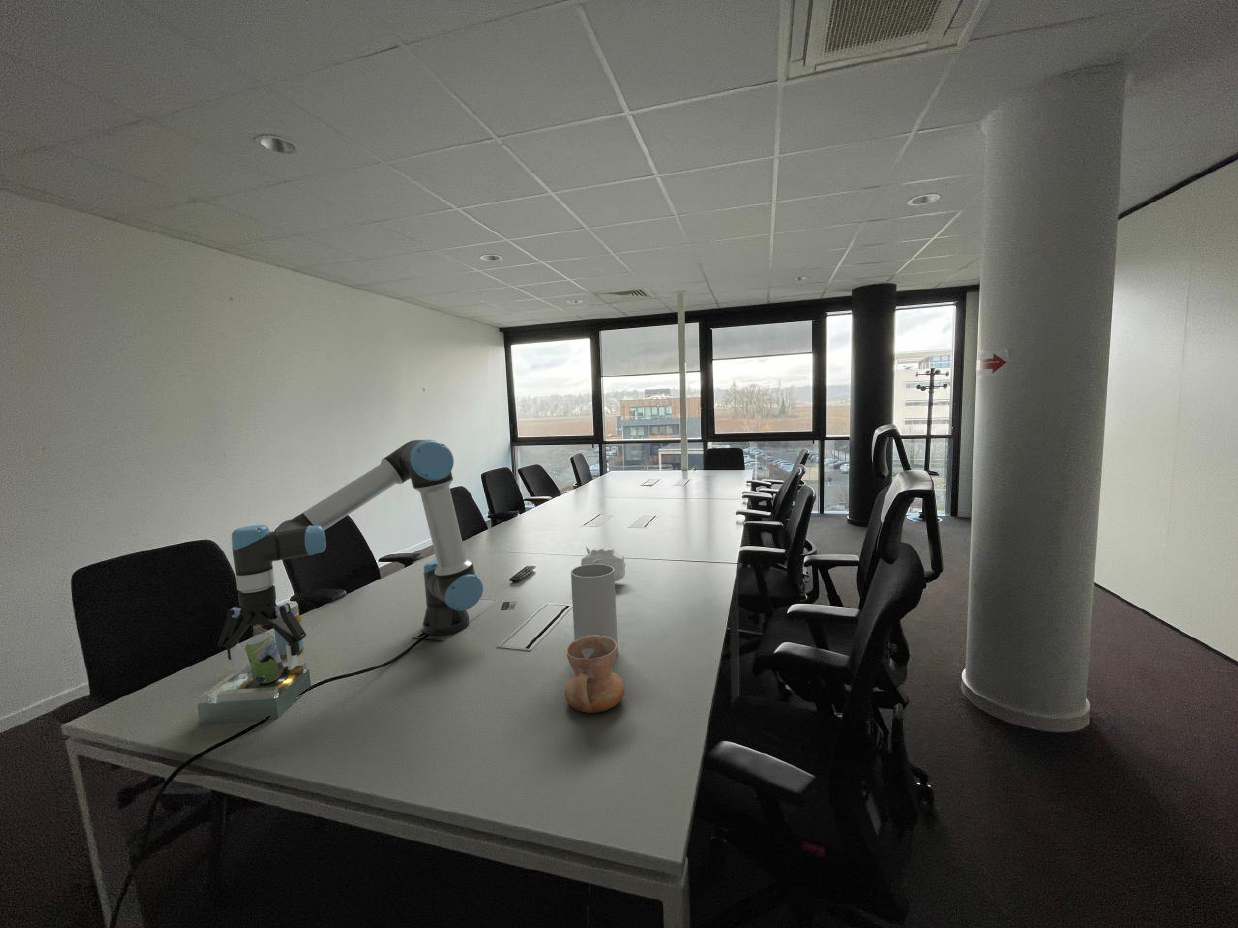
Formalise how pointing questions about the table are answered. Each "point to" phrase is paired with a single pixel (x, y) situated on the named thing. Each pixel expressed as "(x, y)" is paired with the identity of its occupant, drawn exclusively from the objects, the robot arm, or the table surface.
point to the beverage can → (264, 658)
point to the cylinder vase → (594, 602)
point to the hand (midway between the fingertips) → (265, 669)
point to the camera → (606, 560)
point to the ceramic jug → (593, 675)
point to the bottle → (280, 640)
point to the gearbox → (252, 696)
